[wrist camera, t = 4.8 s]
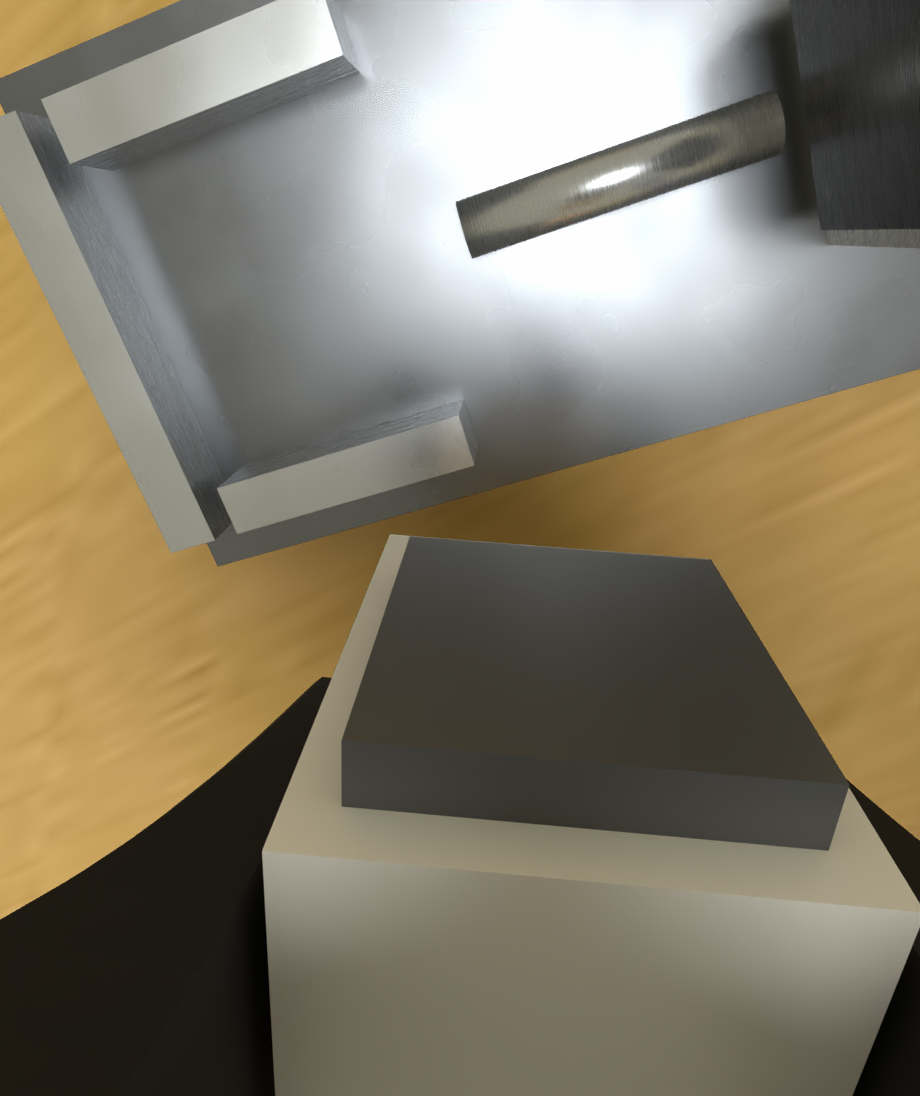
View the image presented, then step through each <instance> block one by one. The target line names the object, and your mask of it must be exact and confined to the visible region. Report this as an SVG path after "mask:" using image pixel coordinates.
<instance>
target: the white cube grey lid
mask: <svg viewBox="0 0 920 1096" xmlns="http://www.w3.org/2000/svg"><path fill="white" fill-rule="evenodd" d="M262 860H263V879H264V897H265V916H266V935H267V953H268V972H269V990H270V1009H271V1027H272V1046H273V1064H274V1083H275V1096H852V1095H853V1093H854V1090H855V1088H856V1085H857V1083H858V1080H859V1078H860V1075H861V1073H862V1070H863V1068H864V1065H865V1063H866V1060H867V1058H868V1055H869V1053H870V1050H871V1048H872V1045H873V1043H874V1040H875V1038H876V1035H877V1033H878V1030H879V1028H880V1025H881V1023H882V1020H883V1018H884V1015H885V1013H886V1010H887V1008H888V1005H889V1003H890V1000H891V998H892V995H893V993H894V990H895V988H896V985H897V983H898V980H899V978H900V975H901V973H902V970H903V968H904V965H905V963H906V960H907V958H908V955H909V953H910V950H911V948H912V945H913V943H914V940H915V938H916V935H917V933H918V930H919V928H920V903H919V901H918V900H917V898H916V897H915V895H914V893H913V892H912V890H911V888H910V887H909V885H908V883H907V882H906V880H905V878H904V877H903V875H902V874H901V872H900V870H899V869H898V867H897V865H896V864H895V862H894V860H893V859H892V857H891V856H890V854H889V852H888V851H887V849H886V847H885V846H884V844H883V842H882V841H881V839H880V838H879V836H878V834H877V833H876V831H875V829H874V828H873V826H872V824H871V823H870V821H869V820H868V818H867V816H866V815H865V813H864V811H863V810H862V808H861V806H860V805H859V803H858V801H857V800H856V798H855V797H854V795H853V793H852V792H851V790H850V788H849V783H848V782H847V780H846V778H845V777H844V775H843V774H842V772H841V770H840V769H839V767H838V765H837V764H836V762H835V761H834V759H833V757H832V756H831V754H830V752H829V751H828V749H827V748H826V746H825V744H824V743H823V741H822V739H821V738H820V736H819V735H818V733H817V731H816V730H815V728H814V726H813V725H812V723H811V721H810V720H809V718H808V717H807V715H806V713H805V712H804V710H803V708H802V707H801V705H800V704H799V702H798V700H797V699H796V697H795V695H794V694H793V692H792V691H791V689H790V687H789V686H788V684H787V682H786V681H785V679H784V678H783V676H782V674H781V673H780V671H779V669H778V668H777V666H776V664H775V663H774V661H773V660H772V658H771V656H770V655H769V653H768V651H767V650H766V648H765V647H764V645H763V643H762V642H761V640H760V638H759V637H758V635H757V634H756V632H755V630H754V629H753V627H752V625H751V624H750V622H749V621H748V619H747V617H746V616H745V614H744V612H743V611H742V609H741V607H740V606H739V604H738V603H737V601H736V599H735V598H734V596H733V594H732V593H731V591H730V590H729V588H728V586H727V585H726V583H725V581H724V580H723V578H722V577H721V575H720V573H719V572H718V570H717V568H716V567H715V565H714V564H713V562H712V560H710V559H701V558H688V557H675V556H663V555H650V554H637V553H624V552H611V551H599V550H586V549H573V548H560V547H547V546H534V545H522V544H509V543H496V542H483V541H470V540H458V539H445V538H432V537H419V536H406V535H394V534H390V535H389V538H388V540H387V543H386V545H385V548H384V550H383V553H382V555H381V558H380V560H379V563H378V565H377V568H376V570H375V572H374V575H373V577H372V580H371V582H370V585H369V587H368V590H367V592H366V595H365V597H364V600H363V602H362V605H361V607H360V610H359V612H358V615H357V617H356V620H355V622H354V624H353V627H352V629H351V632H350V634H349V637H348V639H347V642H346V644H345V647H344V649H343V652H342V654H341V657H340V659H339V662H338V664H337V667H336V669H335V672H334V674H333V676H332V679H331V681H330V684H329V686H328V689H327V691H326V694H325V696H324V699H323V701H322V704H321V706H320V709H319V711H318V714H317V716H316V719H315V721H314V723H313V726H312V728H311V731H310V733H309V736H308V738H307V741H306V743H305V746H304V748H303V751H302V753H301V756H300V758H299V761H298V763H297V766H296V768H295V771H294V773H293V775H292V778H291V780H290V783H289V785H288V788H287V790H286V793H285V795H284V798H283V800H282V803H281V805H280V808H279V810H278V813H277V815H276V818H275V820H274V823H273V825H272V827H271V830H270V832H269V835H268V837H267V840H266V842H265V845H264V847H263V850H262Z"/></svg>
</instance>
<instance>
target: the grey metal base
mask: <svg viewBox="0 0 920 1096" xmlns="http://www.w3.org/2000/svg"><path fill="white" fill-rule="evenodd" d="M0 104H1V106H2V108H3V110H4V112H5V115H3V116H0V205H1V207H2V209H3V211H4V213H5V215H6V217H7V219H8V221H9V223H10V225H11V227H12V229H13V231H14V233H15V235H16V237H17V239H18V241H19V244H20V246H21V248H22V250H23V252H24V254H25V256H26V258H27V260H28V262H29V264H30V266H31V268H32V270H33V272H34V274H35V276H36V278H37V280H38V282H39V284H40V286H41V288H42V290H43V292H44V295H45V297H46V299H47V301H48V303H49V305H50V307H51V309H52V311H53V313H54V315H55V317H56V319H57V321H58V323H59V325H60V327H61V329H62V331H63V333H64V335H65V337H66V339H67V341H68V343H69V346H70V348H71V350H72V352H73V354H74V356H75V358H76V360H77V362H78V364H79V366H80V368H81V370H82V372H83V374H84V376H85V378H86V380H87V382H88V384H89V386H90V388H91V390H92V392H93V394H94V397H95V399H96V401H97V403H98V405H99V407H100V409H101V411H102V413H103V415H104V417H105V419H106V421H107V423H108V425H109V427H110V429H111V431H112V433H113V435H114V437H115V439H116V441H117V443H118V445H119V447H120V450H121V452H122V454H123V456H124V458H125V460H126V462H127V464H128V466H129V468H130V470H131V472H132V474H133V476H134V478H135V480H136V482H137V484H138V486H139V488H140V490H141V492H142V494H143V496H144V498H145V501H146V503H147V505H148V507H149V509H150V511H151V513H152V515H153V517H154V519H155V521H156V523H157V525H158V527H159V529H160V531H161V533H162V535H163V537H164V539H165V541H166V543H167V545H168V547H169V549H170V552H171V553H173V552H177V551H180V550H183V549H187V548H190V547H194V546H197V545H201V544H204V543H207V544H208V547H209V549H210V551H211V553H212V555H213V557H214V559H215V561H216V564H217V566H221V565H225V564H228V563H232V562H235V561H239V560H242V559H246V558H250V557H253V556H257V555H260V554H264V553H267V552H271V551H274V550H278V549H281V548H285V547H289V546H292V545H296V544H299V543H303V542H306V541H310V540H313V539H317V538H320V537H324V536H328V535H331V534H335V533H338V532H342V531H345V530H349V529H352V528H356V527H360V526H363V525H367V524H370V523H374V522H377V521H381V520H384V519H388V518H391V517H395V516H399V515H402V514H406V513H409V512H413V511H416V510H420V509H423V508H427V507H430V506H434V505H438V504H441V503H445V502H448V501H452V500H455V499H459V498H462V497H466V496H470V495H473V494H477V493H480V492H484V491H487V490H491V489H494V488H498V487H501V486H505V485H509V484H512V483H516V482H519V481H523V480H526V479H530V478H533V477H537V476H541V475H544V474H548V473H551V472H555V471H558V470H562V469H565V468H569V467H572V466H576V465H580V464H583V463H587V462H590V461H594V460H597V459H601V458H604V457H608V456H611V455H615V454H619V453H622V452H626V451H629V450H633V449H636V448H640V447H643V446H647V445H651V444H654V443H658V442H661V441H665V440H668V439H672V438H675V437H679V436H682V435H686V434H690V433H693V432H697V431H700V430H704V429H707V428H711V427H714V426H718V425H721V424H725V423H729V422H732V421H736V420H739V419H743V418H746V417H750V416H753V415H757V414H761V413H764V412H768V411H771V410H775V409H778V408H782V407H785V406H789V405H792V404H796V403H800V402H803V401H807V400H810V399H814V398H817V397H821V396H824V395H828V394H832V393H835V392H839V391H842V390H846V389H849V388H853V387H856V386H860V385H863V384H867V383H871V382H874V381H878V380H881V379H885V378H888V377H892V376H895V375H899V374H902V373H906V372H910V371H913V370H917V369H920V0H181V1H179V2H176V3H174V4H172V5H169V6H167V7H165V8H162V9H160V10H158V11H155V12H153V13H151V14H148V15H146V16H144V17H142V18H139V19H137V20H135V21H132V22H130V23H128V24H125V25H123V26H121V27H118V28H116V29H114V30H111V31H109V32H107V33H104V34H102V35H100V36H97V37H95V38H93V39H90V40H88V41H86V42H84V43H81V44H79V45H77V46H74V47H72V48H70V49H67V50H65V51H63V52H60V53H58V54H56V55H53V56H51V57H49V58H46V59H44V60H42V61H39V62H37V63H35V64H32V65H30V66H28V67H25V68H23V69H21V70H19V71H16V72H14V73H12V74H9V75H7V76H5V77H2V78H0Z"/></svg>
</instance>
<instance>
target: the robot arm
mask: <svg viewBox="0 0 920 1096" xmlns="http://www.w3.org/2000/svg"><path fill="white" fill-rule="evenodd" d="M331 679H332V678H327V677H322V678H320V679H319V680H318V681H316V682H315V683H314V684H313V685H312V686H311V687H310V688H309V689H308V690H306V691H305V692H304V693H303V694H302V695H301V696H300V697H299V698H298V699H297V700H296V701H295V702H294V703H293V704H292V705H291V706H290V707H289V708H288V709H287V710H286V711H285V712H283V713H282V714H281V715H280V716H279V717H278V718H277V719H276V720H275V721H274V722H273V723H272V724H271V725H270V726H269V727H268V728H266V729H265V730H264V731H263V732H262V733H261V734H260V735H259V736H258V737H257V738H256V739H254V740H253V741H252V742H251V743H250V744H249V745H248V746H246V747H245V748H244V749H243V750H242V751H241V752H240V753H239V754H237V755H236V756H235V757H234V758H233V759H232V760H231V761H229V762H228V763H227V764H226V765H225V766H224V767H223V768H222V769H220V770H219V771H218V772H217V773H216V774H214V775H213V776H212V777H211V778H210V779H208V780H207V781H206V782H205V783H203V784H202V785H201V786H200V787H198V788H197V789H196V790H195V791H193V792H192V793H191V794H189V795H188V796H187V797H186V798H184V799H183V800H182V801H181V802H179V803H178V804H177V805H176V806H174V807H173V808H172V809H171V810H169V811H168V812H167V813H166V814H164V815H163V816H162V817H160V818H159V819H158V820H156V821H155V822H154V823H152V824H151V825H150V826H148V827H147V828H145V829H144V830H143V831H141V832H140V833H139V834H137V835H136V836H135V837H133V838H132V839H130V840H129V841H127V842H126V843H125V844H123V845H122V846H120V847H119V848H117V849H116V850H114V851H112V852H111V853H109V854H108V855H106V856H105V857H103V858H102V859H100V860H99V861H97V862H96V863H94V864H93V865H91V866H90V867H88V868H87V869H85V870H84V871H82V872H81V873H79V874H77V875H76V876H74V877H73V878H71V879H69V880H68V881H66V882H65V883H63V884H61V885H59V886H58V887H56V888H54V889H52V890H51V891H49V892H47V893H46V894H44V895H42V896H40V897H39V898H37V899H35V900H33V901H32V902H30V903H28V904H26V905H25V906H23V907H21V908H20V909H18V910H16V911H14V912H13V913H11V914H9V915H7V916H6V917H4V918H2V919H0V1096H275V1083H274V1064H273V1046H272V1027H271V1009H270V990H269V972H268V953H267V935H266V916H265V897H264V879H263V860H262V850H263V847H264V845H265V842H266V840H267V837H268V835H269V832H270V830H271V827H272V825H273V823H274V820H275V818H276V815H277V813H278V810H279V808H280V805H281V803H282V800H283V798H284V795H285V793H286V790H287V788H288V785H289V783H290V780H291V778H292V775H293V773H294V771H295V768H296V766H297V763H298V761H299V758H300V756H301V753H302V751H303V748H304V746H305V743H306V741H307V738H308V736H309V733H310V731H311V728H312V726H313V723H314V721H315V719H316V716H317V714H318V711H319V709H320V706H321V704H322V701H323V699H324V696H325V694H326V691H327V689H328V686H329V684H330V681H331ZM846 780H847V779H846ZM847 782H848V783H849V788H850V790H851V792H852V793H853V795H854V797H855V798H856V800H857V801H858V803H859V805H860V806H861V808H862V810H863V811H864V813H865V815H866V816H867V818H868V820H869V821H870V823H871V824H872V826H873V828H874V829H875V831H876V833H877V834H878V836H879V838H880V839H881V841H882V842H883V844H884V846H885V847H886V849H887V851H888V852H889V854H890V856H891V857H892V859H893V860H894V862H895V864H896V865H897V867H898V869H899V870H900V872H901V874H902V875H903V877H904V878H905V880H906V882H907V883H908V885H909V887H910V888H911V890H912V892H913V893H914V895H915V897H916V898H917V900H918V901H919V903H920V841H919V840H918V839H917V838H915V837H914V836H913V835H912V834H910V833H909V832H908V831H907V830H906V829H904V828H903V827H902V826H901V825H900V824H898V823H897V822H896V821H895V820H894V819H892V818H891V817H890V816H889V815H888V814H886V813H885V812H884V811H883V810H882V809H881V808H879V807H878V806H877V805H876V804H875V803H873V802H872V801H871V800H870V799H869V798H868V797H866V796H865V795H864V794H863V793H862V792H861V791H859V790H858V789H857V788H856V787H855V786H854V785H852V784H851V783H850V782H849V781H848V780H847ZM852 1096H920V928H919V930H918V933H917V935H916V938H915V940H914V943H913V945H912V948H911V950H910V953H909V955H908V958H907V960H906V963H905V965H904V968H903V970H902V973H901V975H900V978H899V980H898V983H897V985H896V988H895V990H894V993H893V995H892V998H891V1000H890V1003H889V1005H888V1008H887V1010H886V1013H885V1015H884V1018H883V1020H882V1023H881V1025H880V1028H879V1030H878V1033H877V1035H876V1038H875V1040H874V1043H873V1045H872V1048H871V1050H870V1053H869V1055H868V1058H867V1060H866V1063H865V1065H864V1068H863V1070H862V1073H861V1075H860V1078H859V1080H858V1083H857V1085H856V1088H855V1090H854V1093H853V1095H852Z"/></svg>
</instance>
